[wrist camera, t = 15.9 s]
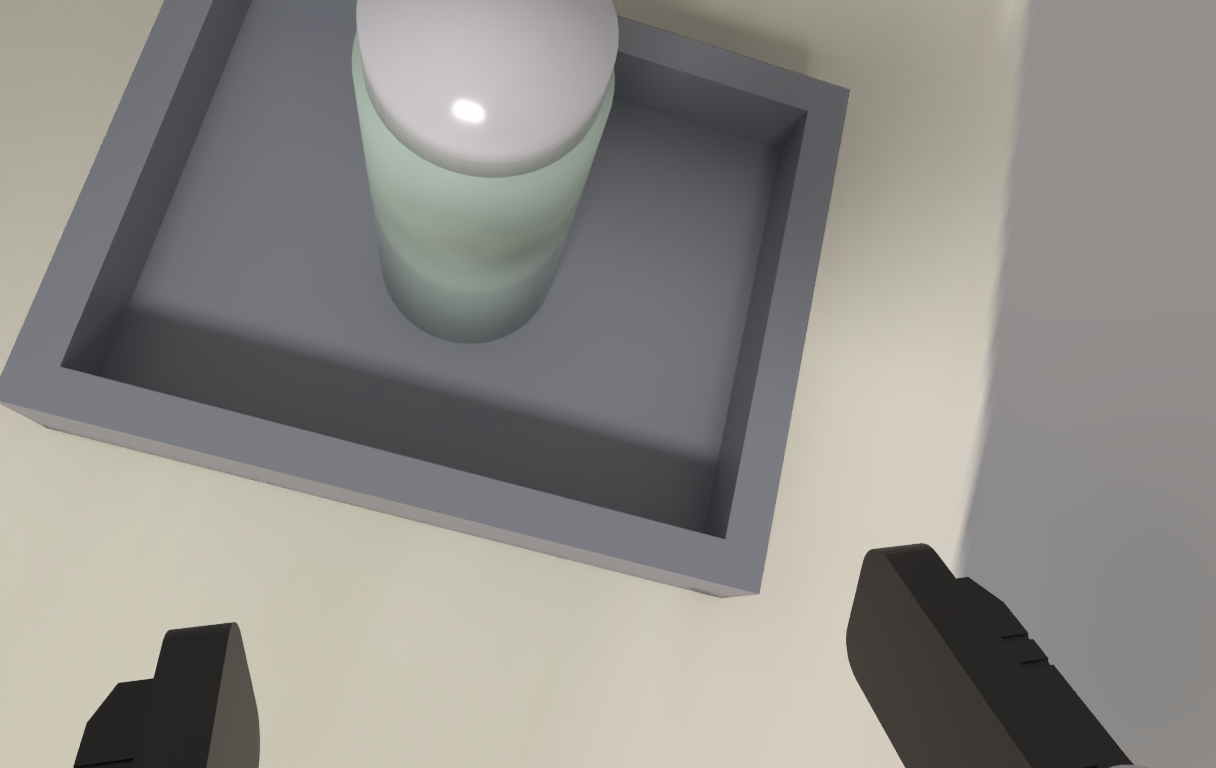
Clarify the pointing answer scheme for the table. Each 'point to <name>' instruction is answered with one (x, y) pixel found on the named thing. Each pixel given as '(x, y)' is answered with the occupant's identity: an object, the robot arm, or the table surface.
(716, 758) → the table surface
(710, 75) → the tray
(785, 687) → the table surface
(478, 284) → the shaker
